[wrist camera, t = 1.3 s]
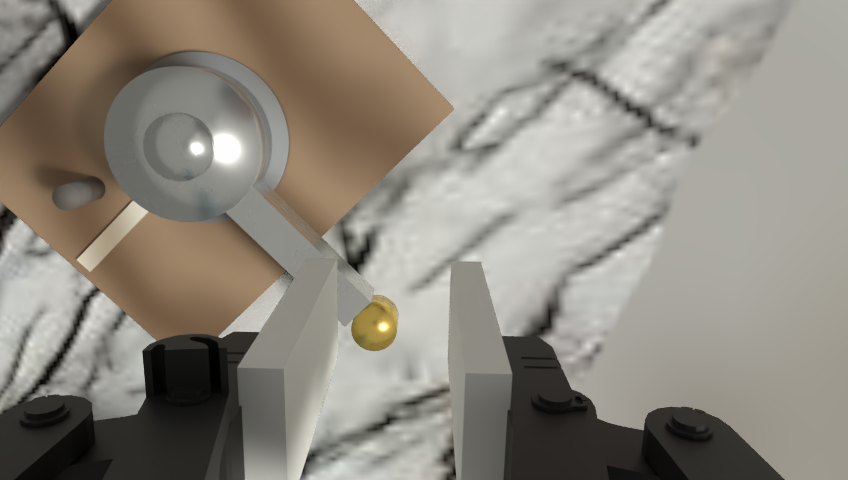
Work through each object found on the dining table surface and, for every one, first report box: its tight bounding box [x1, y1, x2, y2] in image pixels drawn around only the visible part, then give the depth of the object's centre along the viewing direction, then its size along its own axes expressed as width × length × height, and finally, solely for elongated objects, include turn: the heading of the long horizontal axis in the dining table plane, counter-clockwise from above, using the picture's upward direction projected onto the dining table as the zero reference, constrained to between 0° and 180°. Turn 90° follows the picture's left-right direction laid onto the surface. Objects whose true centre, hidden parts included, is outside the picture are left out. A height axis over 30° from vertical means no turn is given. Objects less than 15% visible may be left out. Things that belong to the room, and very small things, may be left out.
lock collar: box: [104, 66, 398, 351], centre depth 32 cm, size 7×17×3 cm, turn 44°
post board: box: [0, 0, 454, 341], centre depth 33 cm, size 20×15×4 cm
